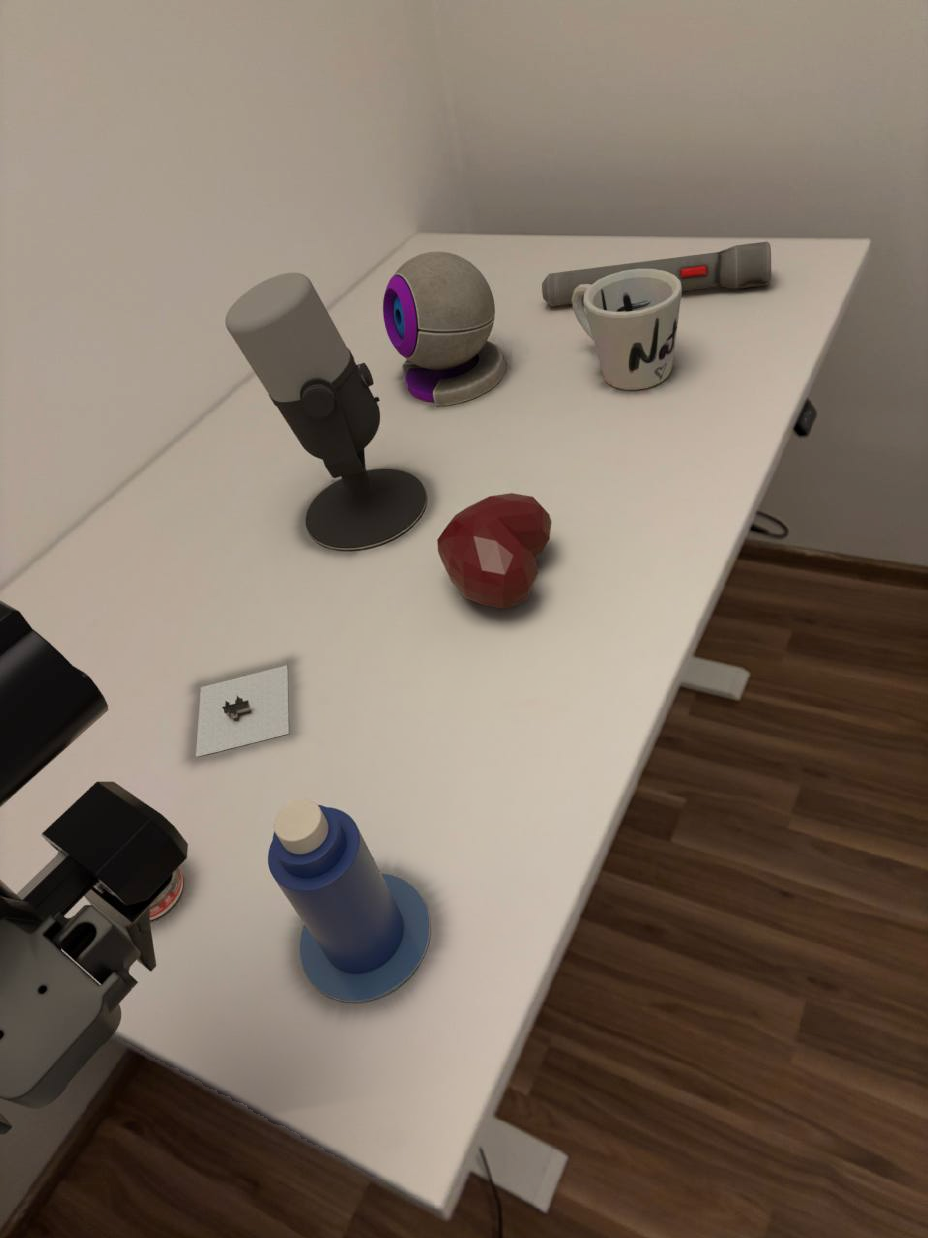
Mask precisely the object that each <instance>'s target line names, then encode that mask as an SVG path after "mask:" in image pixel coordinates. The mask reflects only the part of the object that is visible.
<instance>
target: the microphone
mask: <svg viewBox="0 0 928 1238" xmlns="http://www.w3.org/2000/svg"><path fill="white" fill-rule="evenodd" d="M224 321H225V328H226V330H227V331H228V333H229V334H230V336H231V337H232V339H233V341H234V342H235V343H236V345H237V347H238V349H239V350H240V351H241V353H242V355H243V356H244V357H245V359H246V361H247V363H248V364H249V365H250V367H251V369H252V370H253V372H254V374H255V375H256V377H257V378H258V380H259V381H260V383H261V384H262V386H263V388H264V389H265V391H266V392H267V395H268V397H269V399H270V400H271V402H272V404H273V405H274V406H275V407H276V408H277V409H278V411H279V413H280V414H281V415H282V417H283V419H284V420H285V422H286V424H287V425H288V426H289V428H290V430H291V431H292V433H293V434H294V436H295V438H296V439H297V441H298V442H299V444H300V445H301V446H302V448H303V449H304V450H305V451H306V452H307V453H308V454H310V455H311V456H312V457H315V458H316V459H319V460H322V463H323V465H324V467H325V469H326V471H328V474H329V475H330V476H331V478H332V479H336V478H340V477H341V478H340V479H338V480H336V481H334V482H333V483H331V484H330V485H328V486H327V487H325V488H324V489H323V490H322V491H320V492H319V493H318V494H317V495H316V497H315V498H313V500H312V501H311V503H310V504H309V506H308V508H307V511H306V513H305V519H304V520H305V528H306V530H307V532H308V534H309V536H310V538H311V539H312V540H313V541H314V542H315V543H317V544H318V545H320V546H322V547H324V548H326V549H329V550H333V551H340V552H355V551H364V550H368V549H373V548H376V547H379V546H382V545H385V544H387V543H390V542H391V541H394V540H395V539H397V538H399V537H400V536H403V534H405V533H406V532H408V531H409V530H410V529H411V528H413V526H415V524H416V523H418V521H419V520H420V519H421V517H422V516H423V514H424V512H425V509H426V507H427V503H428V496H427V491H426V489H425V486H424V483H423V482H422V481H421V480H420V479H419V478H418V477H417V476H415V474H411V473H410V472H407V471H406V470H401V469H396V468H372V469H367V467H366V453H365V448H367V447H368V446H369V445H370V443H371V442H372V441H373V440H374V438H375V436H376V435H377V433H378V430H379V428H380V423H381V412H380V406H379V404H378V402H380V401H381V400H380V397H379V396H376V397H375V396H374V394H373V392H372V391H371V389H370V387H371V386H373V385H374V384H375V383H374V378H373V375H372V373H371V370H370V368H369V366H368V365H367V364H366V363H365V362H361V363H356V361H355V357H354V355H353V353H352V352H351V350H350V348H349V347H348V346H347V344H346V343H345V341H344V339H343V337H342V335H341V334H340V332H339V330H338V328H337V326H336V325H335V323H334V321H333V319H332V317H331V316H330V314H329V312H328V310H327V308H326V306H325V304H324V303H323V301H322V299H321V297H320V296H319V294H318V291H317V290H316V288H315V286H314V284H313V283H312V281H311V279H310V278H309V277H308V276H307V275H305V274H303V273H300V272H285V273H281V274H277V275H274V276H272V277H270V278H267V279H265V280H263V281H261V282H259V283H257V284H256V285H255V286H253V287H251V288H250V289H249V290H246V292H244V293H243V294H242V295H240V296H239V297H238V298H237V299H236V300H235V301H234V302H233V303H232V304H231V306H230V308H229V309H228V310H227V312H226V316H225V320H224Z"/></svg>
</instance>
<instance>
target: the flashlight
mask: <svg viewBox="0 0 928 1238" xmlns="http://www.w3.org/2000/svg"><path fill="white" fill-rule="evenodd" d="M633 269H656V270H662V271H666V272H669V273H671V274H673V275H675V276H676V277H677V278H678V279H679V280H680V282H681V287H682V292H684V291H692V290H693V291H694V290H701V289H710V288H718V287H720V288H727V289H728V288H729V289H735V290H737V289H745V288H746V289H747V288H754V287H762V286H763V287H765V286H768V285H769V284H770V283H771V279H772V247H771V243H770V242H769V241H760V242H751V243H743V244H737V245H733V246H730V247H728V248H725V249H723V250H720V251H716V252H715V251H714V252H709V253H708V252H707V253H700V254H693V255H684V256H676V257H669V258H661V259H653V260H645V261H638V262H629V263H622V264H614V265H606V266H598V267H590V268H582V269H575V270H567V271H559V272H550V273H548V274H547V275H546V276H545V278H544V279H543V281H542V282H541V294H542V295H541V296H542V298H543V300H544V301H545V302H546V303H547V304H549V306H551V307H557V306H563V305H564V306H565V305H572V297H573V293H574V290H575V288H577V287H578V286H579V285H581V284H590V285H592V284H593V283H595V282H596V281H597V280H599V279H602V278H604V277H606V276H608V275H610V274H614V273H618V272H621V271H626V270H633ZM581 300H582V304H583V302H584V294H583V295H582V299H581Z"/></svg>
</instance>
